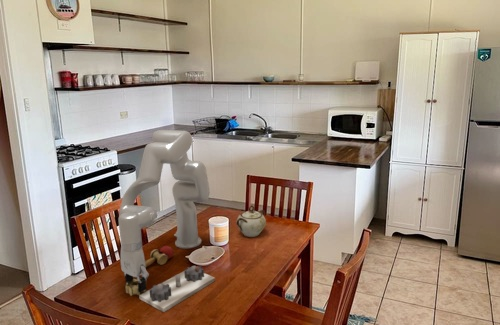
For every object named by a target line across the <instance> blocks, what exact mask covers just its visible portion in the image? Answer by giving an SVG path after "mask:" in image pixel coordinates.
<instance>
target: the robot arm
mask: <svg viewBox="0 0 500 325" xmlns="http://www.w3.org/2000/svg"><path fill="white" fill-rule="evenodd" d="M151 137H152V142H149V143H148V144H146V145H145V147H144V150H143V155H142V158H141V163H140V168H139V172H138V176H137V178H136V180H135V181H134V182H133V183H132V184H131V185H130V186H129V187H128V188H127V189H126V191H125V192H124V194H123V197H122V199H121V203H120V207H119V208H120V209H119V216H118V228H119V236H120V237H119V239H120V245H121V246H120V268H121V271H122V272H123V274H124V280H125V285H127V284H126V283H127V282H128V281H129V282H130V281H132V279H134V278H136V279H138V281H139V282H138V290H139V292H142V291H144V290H146V291H147V288H146V287H147V279H148V278H149V276H150V274H149V272H148V271H147V267H146V265H145V261H146V260H145V254H144V250H143V240H142V239H143V238H142V229H145V228H147V227H150V226H152V225H153V224H154V223H155V222H156V221H157V218H158V213H157V210H156V209H155V208H154V207H152V206H146V205H145V206H144V205H135V202H136V199H137V197H139V195H140V194H141V193H143V192H145V190H148V189H150V188H152V187H156V186H157V185H159V184H160V182H161V177H162V171H163V166H164V165H165V164H167V165H169V166H170V171H171V176H172V178H173V179H174V180H176V182H174V184H173V186H172V189H171V190H172V192H171V193H172V197H173V200H174V203H175V204H174V205H175V214H176V216H175V217H176V226H177V230H176V232H175V233H174V234H173V236H174V237H176V240H175V241H174V242H175V243H174V244H175V246H176V247H177V248H178V249H186V250H187V249H193V248H196V247H198V246H200V245H201V244H202V239H201V238H200V236H199V235H198V217H197V216H198V215H197V208H196V207H197V206H196V205H195V203H205V202H206V201H208V200H209V198H210V184H209V178H208V173H207V168H206V166H205V164H204V163H203V162H202V161H199V160H192V159H191V160H190V159H189V156H188V153H187V152H189V150H190V149H191V147H192V144H193V137H192V134H191V133H190V132H189V131H187V130H174V129H171V130H170V129H159V130H156V131H154V132H153V134H152V136H151ZM142 293H143V292H142Z"/></svg>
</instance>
